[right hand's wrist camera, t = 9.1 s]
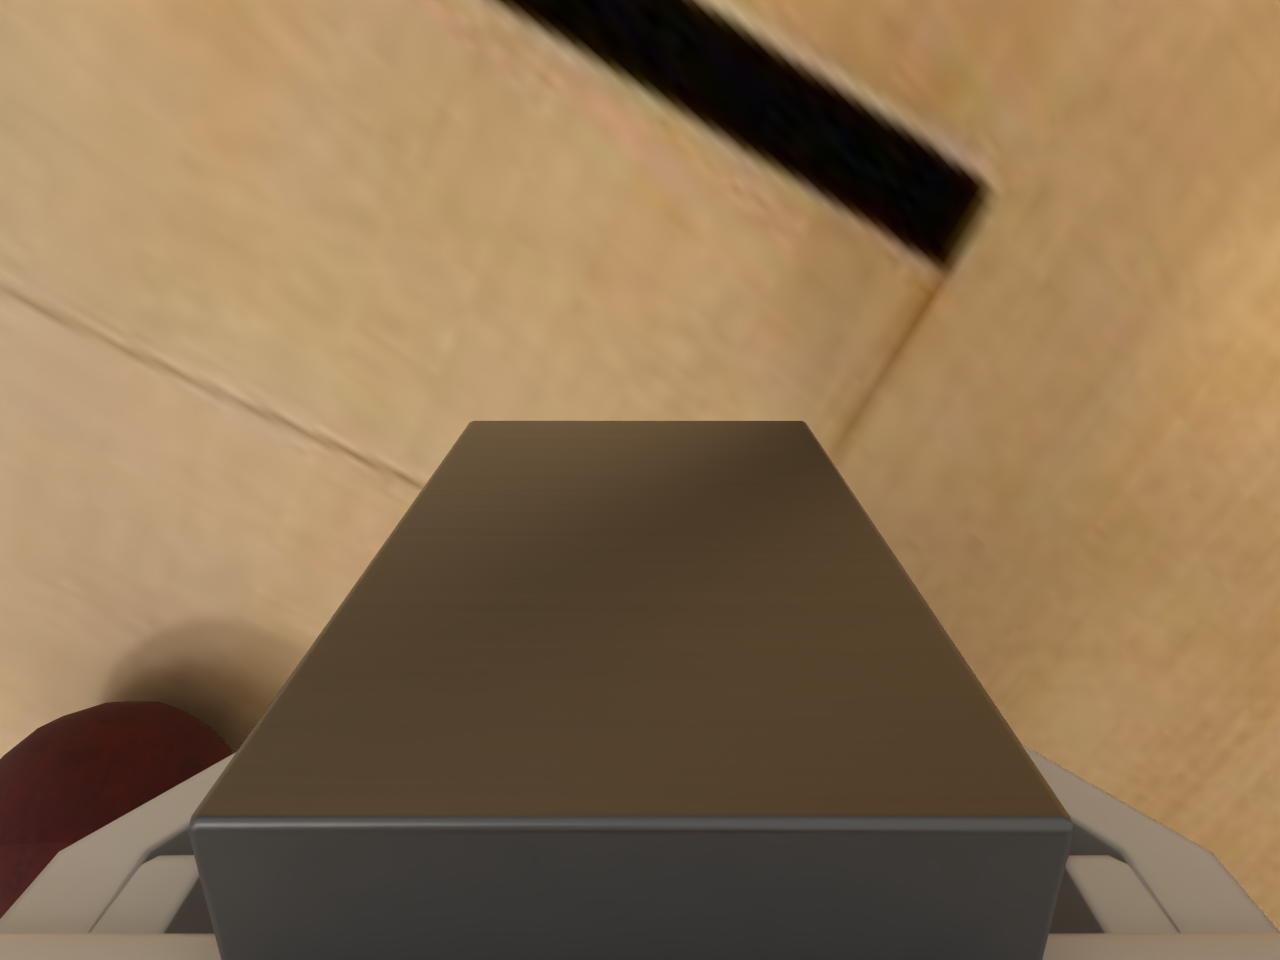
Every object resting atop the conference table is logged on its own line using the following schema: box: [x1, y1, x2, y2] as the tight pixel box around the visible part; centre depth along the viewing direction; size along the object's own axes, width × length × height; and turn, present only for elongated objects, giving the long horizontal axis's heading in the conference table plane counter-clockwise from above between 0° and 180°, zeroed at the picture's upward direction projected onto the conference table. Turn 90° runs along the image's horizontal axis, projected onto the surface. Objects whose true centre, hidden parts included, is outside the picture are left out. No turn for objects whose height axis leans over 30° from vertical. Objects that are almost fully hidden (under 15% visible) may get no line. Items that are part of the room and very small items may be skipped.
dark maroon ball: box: [0, 701, 233, 919], centre depth 25 cm, size 7×8×7 cm
